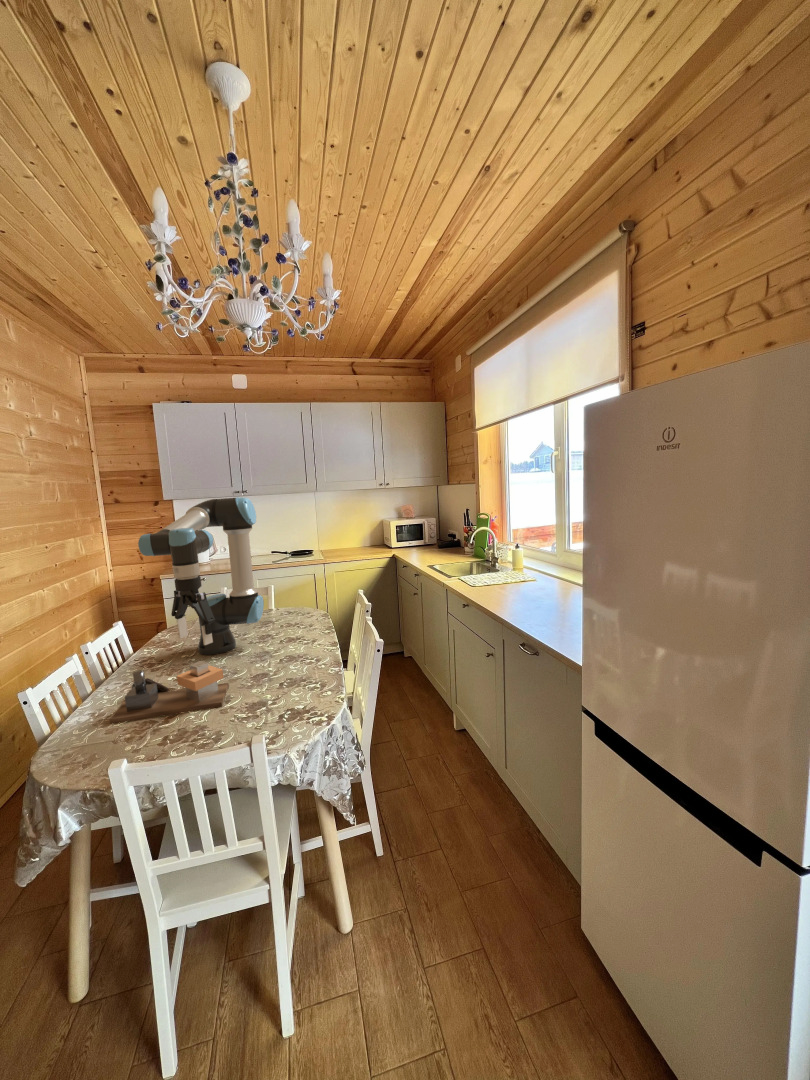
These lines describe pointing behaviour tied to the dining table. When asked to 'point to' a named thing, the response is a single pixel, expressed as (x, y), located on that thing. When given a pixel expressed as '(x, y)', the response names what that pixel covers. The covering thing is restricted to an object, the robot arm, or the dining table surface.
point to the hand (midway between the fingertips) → (195, 640)
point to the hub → (205, 692)
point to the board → (171, 705)
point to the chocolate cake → (159, 685)
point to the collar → (200, 678)
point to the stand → (141, 693)
